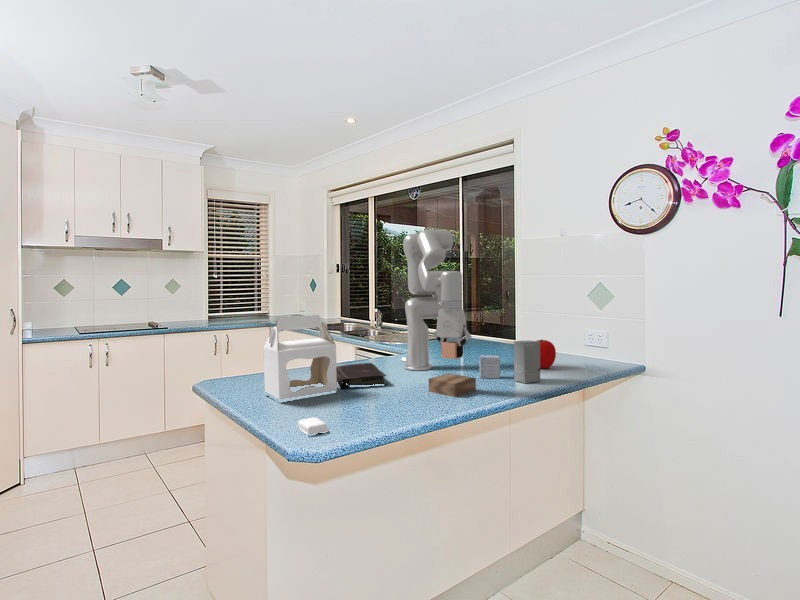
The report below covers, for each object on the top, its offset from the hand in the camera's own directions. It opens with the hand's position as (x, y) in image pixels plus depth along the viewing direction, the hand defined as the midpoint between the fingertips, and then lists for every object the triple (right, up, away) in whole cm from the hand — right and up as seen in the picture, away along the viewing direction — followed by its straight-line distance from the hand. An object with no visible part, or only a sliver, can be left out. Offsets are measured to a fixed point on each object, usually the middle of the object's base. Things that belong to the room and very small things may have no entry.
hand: (452, 355), depth 173 cm
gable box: (-54, -14, -1) cm, 56 cm away
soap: (-43, -16, -41) cm, 61 cm away
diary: (-35, -13, +20) cm, 43 cm away
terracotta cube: (0, -1, 0) cm, 1 cm away
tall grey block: (+31, -12, +15) cm, 37 cm away
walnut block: (0, -13, +1) cm, 13 cm away
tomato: (+44, -10, +40) cm, 61 cm away
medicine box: (+18, -12, +23) cm, 31 cm away
